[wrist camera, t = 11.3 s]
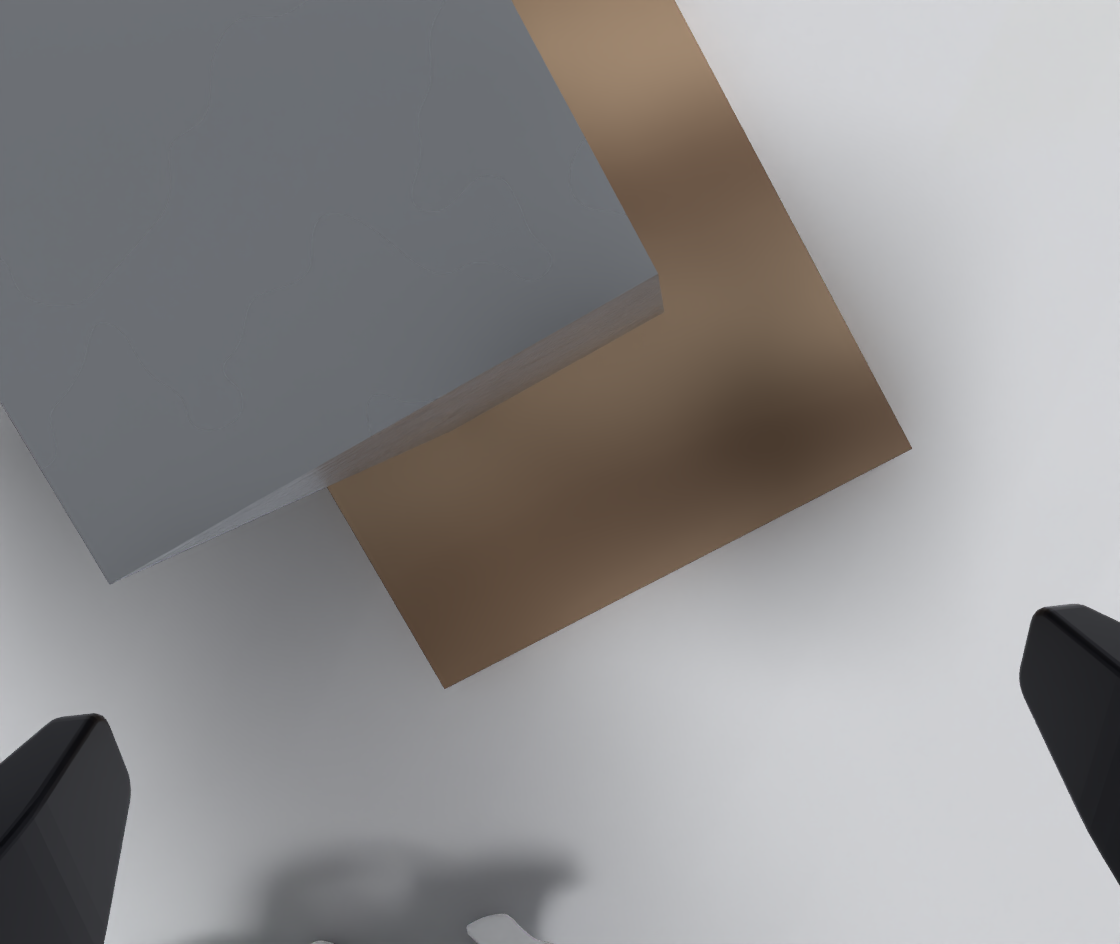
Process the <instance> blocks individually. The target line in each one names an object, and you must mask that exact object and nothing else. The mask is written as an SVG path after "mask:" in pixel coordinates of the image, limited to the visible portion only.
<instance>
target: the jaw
mask: <svg viewBox="0 0 1120 944" xmlns="http://www.w3.org/2000/svg"><path fill="white" fill-rule="evenodd" d="M663 312H664V307H663V301H662V295H661V288H660V282H659V276H658V272H657V271H656V269H655V267H654V265H653V263H652V261H651V259H650V258H649V256H648V254H647V252H646V250H645V248H644V246H643V244H642V243H641V241H640V239H639V237H638V235H637V233H636V231H635V230H634V228H633V226H632V224H631V222H630V220H629V218H628V217H627V215H626V213H625V211H624V209H623V207H622V205H621V204H620V202H619V200H618V198H617V196H616V194H615V192H614V190H613V189H612V187H611V185H610V183H609V181H608V179H607V177H606V176H605V174H604V172H603V170H602V168H601V166H600V164H599V163H598V161H597V159H596V157H595V155H594V153H593V151H592V149H591V148H590V146H589V144H588V142H587V140H586V138H585V136H584V135H583V133H582V131H581V129H580V127H579V125H578V123H577V122H576V120H575V118H574V116H573V114H572V112H571V110H570V109H569V107H568V105H567V103H566V101H565V99H564V97H563V95H562V94H561V92H560V90H559V88H558V86H557V84H556V82H555V81H554V79H553V77H552V75H551V73H550V71H549V69H548V68H547V66H546V64H545V62H544V60H543V58H542V56H541V54H540V53H539V51H538V49H537V47H536V45H535V43H534V41H533V40H532V38H531V36H530V34H529V32H528V30H527V28H526V27H525V25H524V23H523V21H522V19H521V17H520V15H519V14H518V12H517V10H516V8H515V6H514V4H513V2H512V0H0V402H1V404H2V406H3V407H4V409H5V411H6V412H7V414H8V416H9V417H10V419H11V421H12V422H13V424H14V426H15V427H16V429H17V431H18V433H19V434H20V436H21V438H22V439H23V441H24V443H25V444H26V446H27V448H28V449H29V451H30V453H31V454H32V456H33V458H34V459H35V461H36V463H37V464H38V466H39V468H40V469H41V471H42V473H43V474H44V476H45V478H46V479H47V481H48V483H49V484H50V486H51V488H52V489H53V491H54V493H55V494H56V496H57V498H58V499H59V501H60V503H61V504H62V506H63V508H64V509H65V511H66V513H67V514H68V516H69V518H70V519H71V521H72V523H73V524H74V526H75V528H76V529H77V531H78V533H79V534H80V536H81V538H82V539H83V541H84V543H85V544H86V546H87V548H88V549H89V551H90V553H91V554H92V556H93V558H94V559H95V561H96V563H97V564H98V566H99V568H100V569H101V571H102V573H103V574H104V576H105V578H106V579H107V581H108V583H109V584H112V583H114V582H117V581H119V580H121V579H123V578H125V577H128V576H130V575H132V574H134V573H137V572H139V571H141V570H143V569H145V568H148V567H150V566H152V565H154V564H157V563H159V562H161V561H163V560H165V559H168V558H170V557H172V556H174V555H177V554H179V553H181V552H183V551H186V550H188V549H190V548H192V547H194V546H197V545H199V544H201V543H203V542H206V541H208V540H210V539H212V538H214V537H217V536H219V535H221V534H223V533H226V532H228V531H230V530H232V529H234V528H237V527H239V526H241V525H243V524H246V523H248V522H250V521H252V520H254V519H257V518H259V517H261V516H263V515H266V514H268V513H270V512H272V511H274V510H277V509H279V508H281V507H283V506H286V505H288V504H290V503H292V502H294V501H297V500H299V499H301V498H303V497H306V496H308V495H310V494H312V493H314V492H317V491H319V490H321V489H323V488H326V487H328V486H330V485H332V484H334V483H337V482H339V481H341V480H343V479H346V478H348V477H350V476H352V475H354V474H357V473H359V472H361V471H363V470H366V469H368V468H370V467H372V466H374V465H377V464H379V463H381V462H383V461H386V460H388V459H390V458H392V457H394V456H397V455H399V454H401V453H403V452H406V451H408V450H410V449H412V448H414V447H417V446H419V445H421V444H423V443H426V442H428V441H430V440H432V439H435V438H437V437H439V436H441V435H443V434H446V433H448V432H450V431H452V430H454V429H456V428H458V427H459V426H461V425H463V424H465V423H467V422H468V421H470V420H472V419H474V418H476V417H477V416H479V415H481V414H483V413H485V412H486V411H488V410H490V409H492V408H493V407H495V406H497V405H499V404H501V403H502V402H504V401H506V400H508V399H510V398H511V397H513V396H515V395H517V394H519V393H520V392H522V391H524V390H526V389H527V388H529V387H531V386H533V385H535V384H536V383H538V382H540V381H542V380H544V379H545V378H547V377H549V376H551V375H552V374H554V373H556V372H558V371H560V370H561V369H563V368H565V367H567V366H569V365H570V364H572V363H574V362H576V361H578V360H579V359H581V358H583V357H585V356H586V355H588V354H590V353H592V352H594V351H595V350H597V349H599V348H601V347H603V346H604V345H606V344H608V343H610V342H612V341H613V340H615V339H617V338H619V337H620V336H622V335H624V334H626V333H628V332H629V331H631V330H633V329H635V328H637V327H638V326H640V325H642V324H644V323H646V322H647V321H649V320H651V319H653V318H654V317H656V316H658V315H660V314H662V313H663Z"/></svg>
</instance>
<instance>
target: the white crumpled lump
mask: <svg viewBox="0 0 1120 944" xmlns="http://www.w3.org/2000/svg"><path fill="white" fill-rule="evenodd" d="M467 932H468V934H469V935H470V936H471V937H472V938H473V939H474V940H475V941H476V942H477V943H478V944H553V943H549V942H543V941H539V940H537V939H535V938H534V937H532V936H531V935H530V934H528V933H527V932H526V931H525V930H524V929H523V928H521V927H520V926H519V925H518V924H517V923H516V922H515V920H514V919H512V918H511V917H510V916H509V915H507V914H494V915H489V916H486V917H483V918H480V919H478V920H476V921H474V922H472V923H470V924H469V925H468V926H467ZM311 944H334V943H331V942H327V941H315V942H313V943H311Z"/></svg>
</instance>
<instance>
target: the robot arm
mask: <svg viewBox="0 0 1120 944" xmlns="http://www.w3.org/2000/svg"><path fill="white" fill-rule="evenodd" d="M1019 680H1020V687H1021V690H1022V694H1023V696H1024V699H1025V701H1026V703H1027V705H1028V707H1029V709H1030V711H1031V714H1032V716H1033V718H1034V720H1035V722H1036V724H1037V726H1038V728H1039V730H1040V733H1041V735H1042V737H1043V739H1044V741H1045V743H1046V745H1047V747H1048V750H1049V752H1050V754H1051V756H1052V758H1053V760H1054V762H1055V764H1056V767H1057V769H1058V771H1059V773H1060V775H1061V777H1062V779H1063V781H1064V783H1065V786H1066V788H1067V790H1068V792H1069V794H1070V796H1071V798H1072V800H1073V803H1074V805H1075V807H1076V809H1077V811H1078V813H1079V815H1080V817H1081V819H1082V821H1083V823H1084V825H1085V827H1086V829H1087V831H1088V833H1089V834H1090V836H1091V838H1092V840H1093V841H1094V843H1095V845H1096V846H1097V848H1098V850H1099V852H1100V853H1101V855H1102V857H1103V859H1104V860H1105V862H1106V864H1107V865H1108V867H1109V868H1110V870H1111V872H1112V873H1113V875H1114V877H1115V878H1116V880H1117V882H1118V883H1119V885H1120V622H1118V621H1116V620H1114V619H1112V618H1110V617H1108V616H1106V615H1103V614H1101V613H1099V612H1097V611H1095V610H1093V609H1091V608H1089V607H1087V606H1084V605H1080V604H1067V605H1058V606H1050V607H1043V608H1041V609H1039V610H1037V611H1036V613H1035V614H1034V615H1033V617H1032V620H1031V623H1030V628H1029V632H1028V636H1027V640H1026V645H1025V649H1024V653H1023V658H1022V662H1021V666H1020V673H1019ZM130 795H131V786H130V779H129V774H128V771H127V769H126V766H125V764H124V761H123V759H122V756H121V753H120V751H119V748H118V746H117V743H116V741H115V738H114V736H113V733H112V731H111V728H110V726H109V724H108V722H107V720H106V719H105V718H104V717H103V716H101V715H99V714H95V713H92V714H83V715H74V716H65V717H60V718H56V719H54V720H52V721H51V722H49V723H48V724H46V725H45V726H44V727H43V728H42V729H41V730H39V731H38V732H37V733H36V734H35V735H33V736H32V737H31V738H30V739H29V740H27V741H26V742H25V743H24V744H23V745H22V746H20V747H19V748H18V749H17V750H16V751H14V752H13V753H12V754H11V755H10V756H8V757H7V758H6V759H5V760H4V761H2V762H1V763H0V944H104V940H105V935H106V930H107V925H108V919H109V914H110V908H111V903H112V897H113V892H114V886H115V881H116V875H117V870H118V864H119V859H120V853H121V848H122V842H123V837H124V831H125V826H126V820H127V815H128V809H129V804H130Z"/></svg>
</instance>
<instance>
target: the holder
mask: <svg viewBox="0 0 1120 944" xmlns="http://www.w3.org/2000/svg"><path fill="white" fill-rule="evenodd" d="M512 2H513V4H514V6H515V8H516V10H517V12H518V14H519V15H520V17H521V19H522V21H523V23H524V25H525V27H526V28H527V30H528V32H529V34H530V36H531V38H532V40H533V41H534V43H535V45H536V47H537V49H538V51H539V53H540V54H541V56H542V58H543V60H544V62H545V64H546V66H547V68H548V69H549V71H550V73H551V75H552V77H553V79H554V81H555V82H556V84H557V86H558V88H559V90H560V92H561V94H562V95H563V97H564V99H565V101H566V103H567V105H568V107H569V109H570V110H571V112H572V114H573V116H574V118H575V120H576V122H577V123H578V125H579V127H580V129H581V131H582V133H583V135H584V136H585V138H586V140H587V142H588V144H589V146H590V148H591V149H592V151H593V153H594V155H595V157H596V159H597V161H598V163H599V164H600V166H601V168H602V170H603V172H604V174H605V176H606V177H607V179H608V181H609V183H610V185H611V187H612V189H613V190H614V192H615V194H616V196H617V198H618V200H619V202H620V204H621V205H622V207H623V209H624V211H625V213H626V215H627V217H628V218H629V220H630V222H631V224H632V226H633V228H634V230H635V231H636V233H637V235H638V237H639V239H640V241H641V243H642V244H643V246H644V248H645V250H646V252H647V254H648V256H649V258H650V259H651V261H652V263H653V265H654V267H655V269H656V271H657V272H658V276H659V282H660V288H661V295H662V301H663V307H664V312H663V313H662V314H660V315H658V316H656V317H654V318H653V319H651V320H649V321H647V322H646V323H644V324H642V325H640V326H638V327H637V328H635V329H633V330H631V331H629V332H628V333H626V334H624V335H622V336H620V337H619V338H617V339H615V340H613V341H612V342H610V343H608V344H606V345H604V346H603V347H601V348H599V349H597V350H595V351H594V352H592V353H590V354H588V355H586V356H585V357H583V358H581V359H579V360H578V361H576V362H574V363H572V364H570V365H569V366H567V367H565V368H563V369H561V370H560V371H558V372H556V373H554V374H552V375H551V376H549V377H547V378H545V379H544V380H542V381H540V382H538V383H536V384H535V385H533V386H531V387H529V388H527V389H526V390H524V391H522V392H520V393H519V394H517V395H515V396H513V397H511V398H510V399H508V400H506V401H504V402H502V403H501V404H499V405H497V406H495V407H493V408H492V409H490V410H488V411H486V412H485V413H483V414H481V415H479V416H477V417H476V418H474V419H472V420H470V421H468V422H467V423H465V424H463V425H461V426H459V427H458V428H456V429H454V430H452V431H450V432H448V433H446V434H443V435H441V436H439V437H437V438H435V439H432V440H430V441H428V442H426V443H423V444H421V445H419V446H417V447H414V448H412V449H410V450H408V451H406V452H403V453H401V454H399V455H397V456H394V457H392V458H390V459H388V460H386V461H383V462H381V463H379V464H377V465H374V466H372V467H370V468H368V469H366V470H363V471H361V472H359V473H357V474H354V475H352V476H350V477H348V478H346V479H343V480H341V481H339V482H337V483H334V484H332V485H330V486H328V487H327V488H328V490H329V491H330V493H331V495H332V497H333V498H334V500H335V502H336V503H337V505H338V507H339V509H340V510H341V512H342V514H343V515H344V517H345V519H346V521H347V522H348V524H349V526H350V527H351V529H352V531H353V533H354V534H355V536H356V538H357V540H358V541H359V543H360V545H361V546H362V548H363V550H364V552H365V553H366V555H367V557H368V558H369V560H370V562H371V564H372V565H373V567H374V569H375V570H376V572H377V574H378V576H379V577H380V579H381V581H382V582H383V584H384V586H385V588H386V589H387V591H388V593H389V595H390V596H391V598H392V600H393V601H394V603H395V605H396V607H397V608H398V610H399V612H400V613H401V615H402V617H403V619H404V620H405V622H406V624H407V625H408V627H409V629H410V631H411V632H412V634H413V636H414V637H415V639H416V641H417V643H418V644H419V646H420V648H421V650H422V651H423V653H424V655H425V656H426V658H427V660H428V662H429V663H430V665H431V667H432V668H433V670H434V672H435V674H436V675H437V677H438V679H439V680H440V682H441V684H442V686H443V687H444V689H446V688H448V687H450V686H452V685H454V684H456V683H457V682H459V681H461V680H463V679H465V678H467V677H469V676H471V675H473V674H475V673H477V672H479V671H481V670H483V669H485V668H487V667H489V666H491V665H492V664H494V663H496V662H498V661H500V660H502V659H504V658H506V657H508V656H510V655H512V654H514V653H516V652H518V651H520V650H522V649H524V648H526V647H527V646H529V645H531V644H533V643H535V642H537V641H539V640H541V639H543V638H545V637H547V636H549V635H551V634H553V633H555V632H557V631H559V630H561V629H562V628H564V627H566V626H568V625H570V624H572V623H574V622H576V621H578V620H580V619H582V618H584V617H586V616H588V615H590V614H592V613H594V612H596V611H598V610H599V609H601V608H603V607H605V606H607V605H609V604H611V603H613V602H615V601H617V600H619V599H621V598H623V597H625V596H627V595H629V594H631V593H633V592H634V591H636V590H638V589H640V588H642V587H644V586H646V585H648V584H650V583H652V582H654V581H656V580H658V579H660V578H662V577H664V576H666V575H668V574H669V573H671V572H673V571H675V570H677V569H679V568H681V567H683V566H685V565H687V564H689V563H691V562H693V561H695V560H697V559H699V558H701V557H703V556H704V555H706V554H708V553H710V552H712V551H714V550H716V549H718V548H720V547H722V546H724V545H726V544H728V543H730V542H732V541H734V540H736V539H738V538H739V537H741V536H743V535H745V534H747V533H749V532H751V531H753V530H755V529H757V528H759V527H761V526H763V525H765V524H767V523H769V522H771V521H773V520H775V519H776V518H778V517H780V516H782V515H784V514H786V513H788V512H790V511H792V510H794V509H796V508H798V507H800V506H802V505H804V504H806V503H808V502H810V501H811V500H813V499H815V498H817V497H819V496H821V495H823V494H825V493H827V492H829V491H831V490H833V489H835V488H837V487H839V486H841V485H843V484H845V483H846V482H848V481H850V480H852V479H854V478H856V477H858V476H860V475H862V474H864V473H866V472H868V471H870V470H872V469H874V468H876V467H878V466H880V465H881V464H883V463H885V462H887V461H889V460H891V459H893V458H895V457H897V456H899V455H901V454H903V453H905V452H907V451H909V450H911V449H912V447H911V445H910V443H909V441H908V440H907V438H906V436H905V434H904V432H903V430H902V428H901V426H900V424H899V423H898V421H897V419H896V417H895V415H894V413H893V411H892V409H891V407H890V406H889V404H888V402H887V400H886V398H885V396H884V394H883V392H882V391H881V389H880V387H879V385H878V383H877V381H876V379H875V377H874V375H873V374H872V372H871V370H870V368H869V366H868V364H867V362H866V360H865V358H864V357H863V355H862V353H861V351H860V349H859V347H858V345H857V343H856V341H855V340H854V338H853V336H852V334H851V332H850V330H849V328H848V326H847V325H846V323H845V321H844V319H843V317H842V315H841V313H840V311H839V309H838V308H837V306H836V304H835V302H834V300H833V298H832V296H831V294H830V292H829V291H828V289H827V287H826V285H825V283H824V281H823V279H822V277H821V275H820V274H819V272H818V270H817V268H816V266H815V264H814V262H813V260H812V259H811V257H810V255H809V253H808V251H807V249H806V247H805V245H804V243H803V242H802V240H801V238H800V236H799V234H798V232H797V230H796V228H795V226H794V225H793V223H792V221H791V219H790V217H789V215H788V213H787V211H786V209H785V208H784V206H783V204H782V202H781V200H780V198H779V196H778V194H777V192H776V191H775V189H774V187H773V185H772V183H771V181H770V179H769V177H768V176H767V174H766V172H765V170H764V168H763V166H762V164H761V162H760V160H759V159H758V157H757V155H756V153H755V151H754V149H753V147H752V145H751V143H750V142H749V140H748V138H747V136H746V134H745V132H744V130H743V128H742V126H741V125H740V123H739V121H738V119H737V117H736V115H735V113H734V111H733V110H732V108H731V106H730V104H729V102H728V100H727V98H726V96H725V94H724V93H723V91H722V89H721V87H720V85H719V83H718V81H717V79H716V77H715V76H714V74H713V72H712V70H711V68H710V66H709V64H708V62H707V60H706V59H705V57H704V55H703V53H702V51H701V49H700V47H699V45H698V44H697V42H696V40H695V38H694V36H693V34H692V32H691V30H690V28H689V27H688V25H687V23H686V21H685V19H684V17H683V15H682V13H681V11H680V10H679V8H678V6H677V4H676V2H675V0H512Z"/></svg>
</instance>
